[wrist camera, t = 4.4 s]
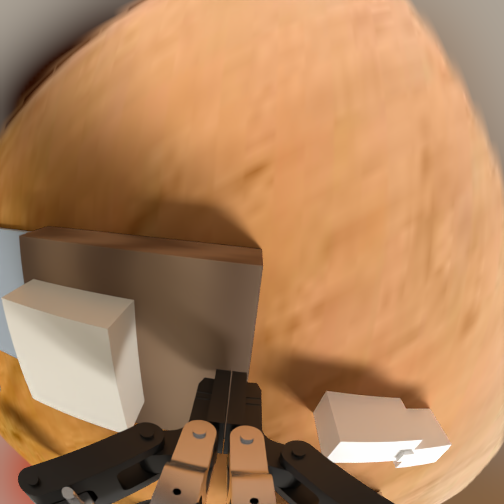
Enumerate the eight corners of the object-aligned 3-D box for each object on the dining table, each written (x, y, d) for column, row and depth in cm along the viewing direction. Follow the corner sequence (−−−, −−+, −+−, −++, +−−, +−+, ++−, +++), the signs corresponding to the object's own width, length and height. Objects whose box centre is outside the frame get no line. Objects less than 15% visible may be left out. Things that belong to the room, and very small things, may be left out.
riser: (261, 249, 16) (263, 265, 13) (240, 410, 19) (238, 440, 16) (47, 226, 15) (18, 235, 12) (70, 373, 18) (53, 394, 16)
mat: (45, 233, 16) (41, 234, 15) (69, 376, 19) (67, 379, 18) (-27, 224, 15) (-30, 225, 15) (-4, 344, 18) (-6, 346, 18)
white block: (134, 299, 13) (107, 328, 10) (144, 401, 15) (129, 435, 12) (33, 278, 13) (1, 297, 10) (54, 373, 15) (33, 398, 12)
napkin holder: (271, 399, 19) (275, 460, 13) (410, 315, 17) (453, 361, 12) (349, 470, 22) (360, 512, 16) (446, 414, 20) (470, 451, 15)
